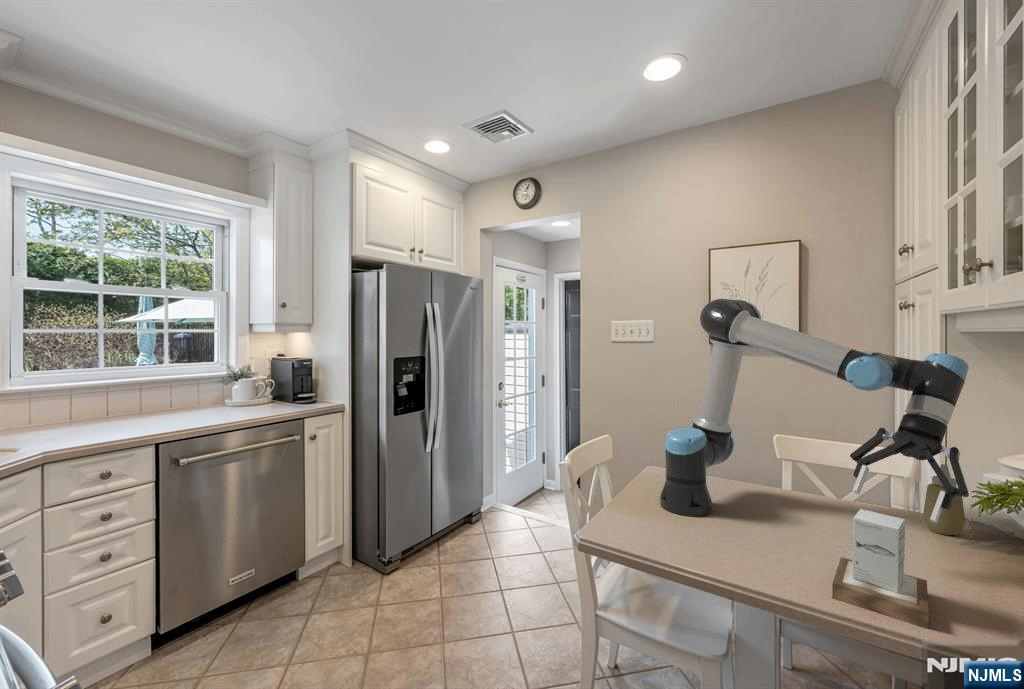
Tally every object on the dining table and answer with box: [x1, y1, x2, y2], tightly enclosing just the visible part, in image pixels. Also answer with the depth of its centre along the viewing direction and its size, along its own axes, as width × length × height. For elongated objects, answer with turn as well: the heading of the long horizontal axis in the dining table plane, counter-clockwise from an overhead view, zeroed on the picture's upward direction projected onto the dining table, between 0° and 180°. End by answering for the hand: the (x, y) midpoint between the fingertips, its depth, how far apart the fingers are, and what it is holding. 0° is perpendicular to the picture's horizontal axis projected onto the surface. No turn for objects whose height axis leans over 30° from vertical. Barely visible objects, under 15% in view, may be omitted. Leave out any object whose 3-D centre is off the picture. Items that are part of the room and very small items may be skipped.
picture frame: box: [831, 556, 930, 629], centre depth 89 cm, size 14×14×3 cm
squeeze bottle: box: [922, 463, 966, 536], centre depth 117 cm, size 8×8×18 cm
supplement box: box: [851, 508, 907, 593], centre depth 89 cm, size 7×7×13 cm
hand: (892, 506), depth 97 cm, fingers open, 13 cm apart
